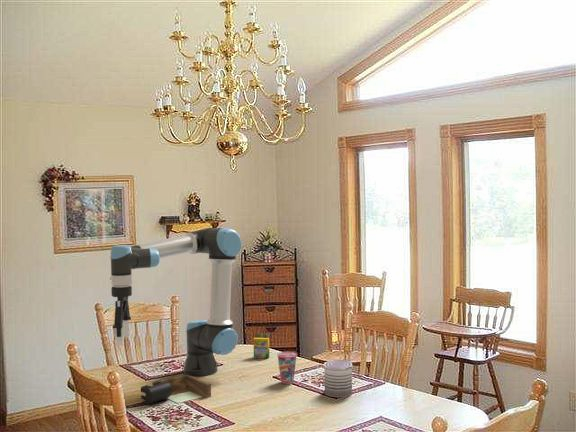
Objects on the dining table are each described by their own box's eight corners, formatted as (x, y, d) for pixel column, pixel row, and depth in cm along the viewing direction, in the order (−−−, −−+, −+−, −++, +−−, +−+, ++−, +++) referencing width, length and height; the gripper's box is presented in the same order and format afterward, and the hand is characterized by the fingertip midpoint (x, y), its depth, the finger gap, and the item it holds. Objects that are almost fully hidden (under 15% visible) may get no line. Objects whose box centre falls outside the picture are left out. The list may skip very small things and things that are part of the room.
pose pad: (190, 392, 259) (190, 391, 259) (201, 397, 252) (201, 396, 252) (165, 397, 252) (165, 397, 252) (177, 403, 245) (177, 402, 245)
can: (358, 392, 256) (358, 362, 255) (340, 399, 248) (340, 368, 247) (336, 386, 264) (335, 357, 263) (318, 393, 255) (317, 363, 255)
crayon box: (253, 358, 311) (253, 334, 310) (254, 356, 314) (254, 333, 313) (268, 358, 309) (268, 334, 309) (269, 357, 312) (269, 333, 312)
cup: (274, 384, 268) (273, 355, 268) (282, 378, 276) (281, 350, 276) (295, 386, 265) (294, 357, 264) (302, 380, 273) (302, 352, 272)
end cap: (151, 407, 241) (151, 389, 241) (140, 403, 245) (139, 385, 245) (172, 399, 249) (172, 382, 248) (160, 396, 253) (160, 379, 253)
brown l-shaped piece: (187, 386, 266) (187, 374, 266) (211, 396, 253) (210, 383, 252) (152, 394, 256) (152, 381, 256) (175, 405, 242) (174, 392, 242)
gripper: (117, 281, 258) (118, 334, 258) (104, 290, 233) (106, 349, 234) (136, 281, 258) (137, 333, 259) (126, 290, 233) (127, 348, 234)
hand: (122, 341), depth 246 cm, fingers open, 13 cm apart
